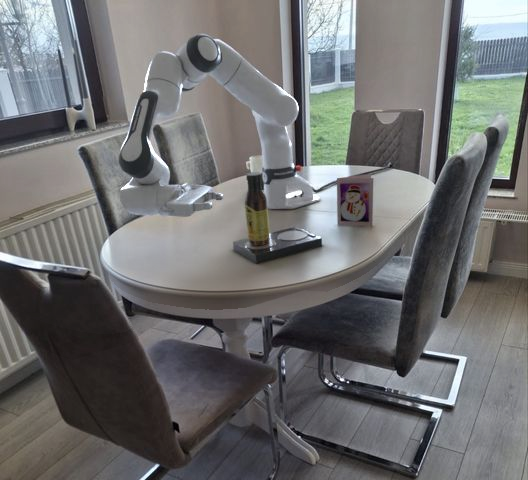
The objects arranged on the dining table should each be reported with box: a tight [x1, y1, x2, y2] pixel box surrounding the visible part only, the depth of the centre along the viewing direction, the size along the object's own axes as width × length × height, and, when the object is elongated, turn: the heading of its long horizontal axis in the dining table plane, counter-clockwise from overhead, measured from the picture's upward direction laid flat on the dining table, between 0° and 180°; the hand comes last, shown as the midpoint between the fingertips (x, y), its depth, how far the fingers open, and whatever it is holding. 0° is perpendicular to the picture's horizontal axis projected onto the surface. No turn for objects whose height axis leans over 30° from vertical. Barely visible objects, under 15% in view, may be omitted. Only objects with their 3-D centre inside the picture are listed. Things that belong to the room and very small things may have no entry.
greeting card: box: [336, 173, 374, 227], centre depth 163 cm, size 11×7×15 cm, turn 68°
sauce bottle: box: [244, 172, 270, 246], centre depth 144 cm, size 6×6×20 cm
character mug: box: [245, 154, 264, 189], centre depth 220 cm, size 11×7×13 cm, turn 71°
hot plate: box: [232, 226, 323, 264], centre depth 151 cm, size 22×15×3 cm
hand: (216, 201), depth 146 cm, fingers open, 8 cm apart
